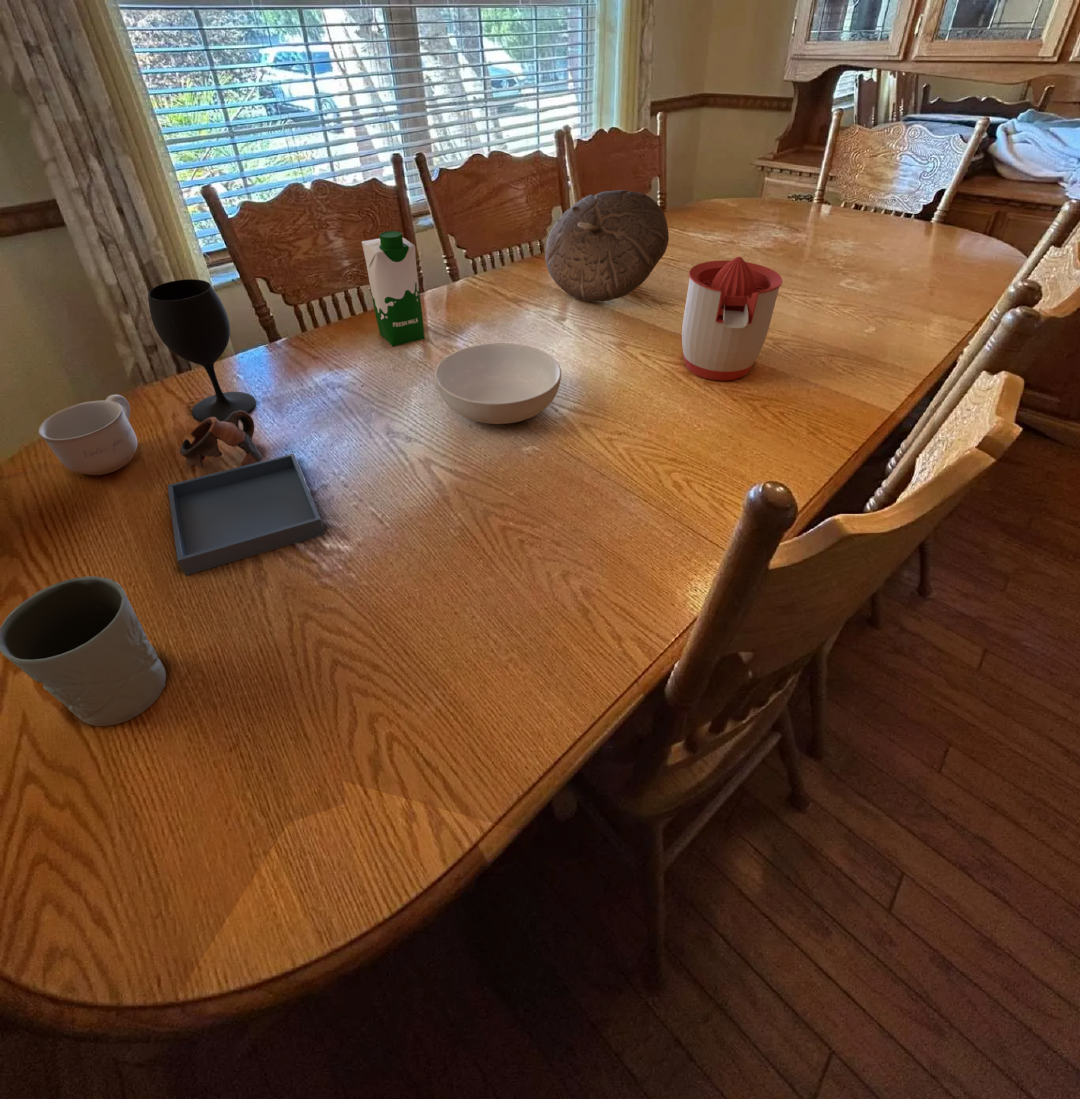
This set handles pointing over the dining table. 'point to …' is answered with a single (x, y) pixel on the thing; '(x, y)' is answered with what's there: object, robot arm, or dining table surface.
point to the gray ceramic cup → (85, 649)
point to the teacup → (92, 436)
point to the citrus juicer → (727, 317)
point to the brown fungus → (606, 245)
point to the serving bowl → (498, 382)
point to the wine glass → (197, 338)
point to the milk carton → (394, 288)
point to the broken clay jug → (225, 432)
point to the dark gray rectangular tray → (241, 513)
